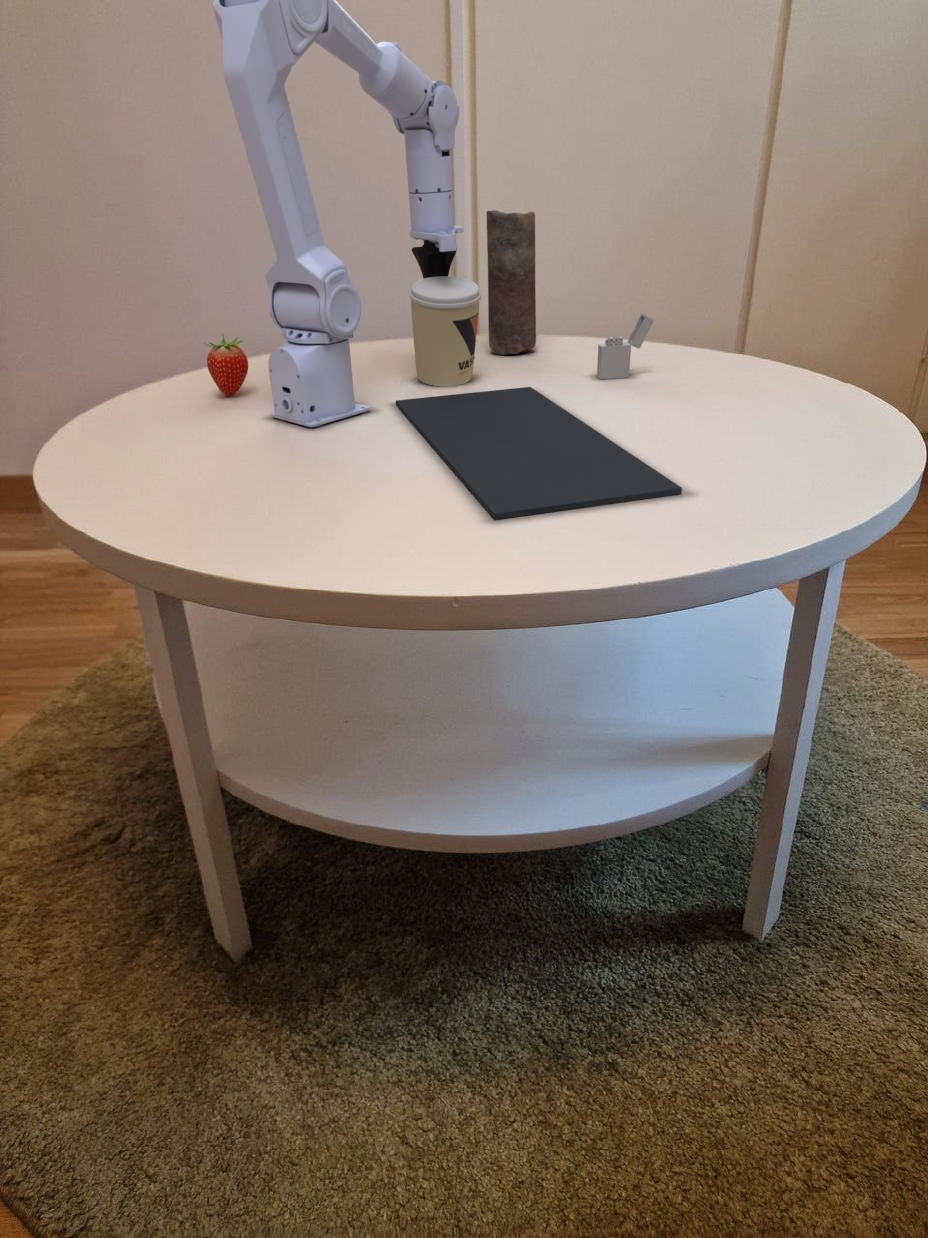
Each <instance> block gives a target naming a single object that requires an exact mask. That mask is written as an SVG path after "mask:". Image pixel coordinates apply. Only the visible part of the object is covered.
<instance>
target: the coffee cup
mask: <svg viewBox="0 0 928 1238" xmlns="http://www.w3.org/2000/svg"><path fill="white" fill-rule="evenodd" d="M408 293H409V298H410V309H411V322H412V335H413V336H412V338H413V350H414V361H415V371H416V378H418V380H419V381H420V382H422V383H423V384H427V385H430V386H435V387H441V388H442V387H447V388H448V387H456V386H462V385H464V384H466V383H468V382H470V380H471V379H472V377H473V371H474V362H475V354H476V345H477V344H476V343H477V333H478V324H479V314H480V313H479V312H480V301H481V299H482V292H481V290H480V287H479V285H478V284H477V282H474V281H472V280H470V279H467V278H462V277H458V276H450V275H448V276H437V277H429V278H424V279H423V278H420V279H419V280H416V281H415V282H413V283H412V285H411V288H410V289H409V292H408Z"/></svg>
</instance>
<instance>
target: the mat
mask: <svg viewBox="0 0 928 1238" xmlns="http://www.w3.org/2000/svg"><path fill="white" fill-rule="evenodd" d="M395 405H396V406H397V408H398V409H399V411H400V412H401V413H402V414H404V416H405V417H406V419H407V420H408V421H409V422H410V423H411V425H413V427H414V428H415V429H416V430H417V432H419V434H420V435H421V436H422V437H423V438H424V440H426V442H427V443H428V444H429V445H430V446H431V448H432V449H433V450H434V451H435V452H436V453H437V454H438V456H439V457H440V459H442V461H444V463H445V464H446V465H447V466H448V467H449V469H450V470H451V471H452V472H453V473H454V475H455V476H456V477H457V479H459V480H460V481H461V483H462V484H463V485H464V486H465V487H466V489H467V490H468V491H469V492H470V493H471V494H472V495H473V496H474V498H475V499H476V500H477V502H478V503H479V504H480V505H481V506H482V507H483V508H484V510H485V511H486V512H487V513H488V514H489V515H490V516H491V517H492V519H493V520H494V521H496V520H504V519H510V518H518V517H524V516H525V517H526V516H532V515H533V516H534V515H540V514H546V513H553V512H561V511H567V510H574V509H582V508H583V509H584V508H588V507H589V508H590V507H597V506H605V505H610V504H617V503H626V502H631V501H640V500H646V499H647V500H648V499H654V498H661V497H668V496H675V495H681V494H682V493H683V488H682V486H680V485H678V484H677V483H675V482H674V481H672V480H671V479H669V478H668V477H667V476H665V475H663V474H662V473H661V472H659V471H657V470H656V469H654V468H653V467H652V466H650V465H648V464H647V463H646V462H644V461H642V460H641V459H639V458H638V457H636V456H635V455H633V454H632V453H630V452H629V451H627V450H626V449H625V448H623V447H621V446H620V445H619V444H617V443H615V442H614V441H612V440H611V439H610V438H608V437H606V436H605V435H603V434H602V433H600V432H599V431H598V430H596V429H594V428H593V427H592V426H590V425H589V424H587V423H586V422H584V421H582V420H581V419H580V418H578V417H577V416H575V415H573V414H572V413H571V412H569V411H567V410H566V409H564V408H563V407H562V406H560V405H558V404H557V403H555V402H554V401H553V400H551V399H549V398H548V397H546V396H545V395H544V394H542V393H541V392H539V391H538V390H536V389H534V388H533V387H532V386H525V387H523V386H522V387H516V388H515V387H513V388H504V389H494V390H485V391H484V390H483V391H475V392H474V391H473V392H466V393H457V394H456V393H455V394H445V395H437V396H436V395H435V396H427V397H415V398H406V399H397V400H395Z"/></svg>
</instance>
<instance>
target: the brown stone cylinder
mask: <svg viewBox="0 0 928 1238" xmlns="http://www.w3.org/2000/svg"><path fill="white" fill-rule="evenodd" d="M486 247H487V251H486V252H487V298H488V299H487V308H488V309H487V311H488V313H487V315H488V320H487V321H488V347H489V348H490V350H492V352H493V353H494V354H495V355H498V356H506V355H507V356H508V355H512V354H513V355H517V354H519V353H521V352H528V351H531V350H533V349H534V348H535V347H536V345H537V309H536V307H537V304H536V303H537V302H536V301H537V300H536V214H535V211H529V212H526V213H520V212H510V213H507V212H503V211H499V210H486Z"/></svg>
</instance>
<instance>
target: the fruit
mask: <svg viewBox="0 0 928 1238" xmlns="http://www.w3.org/2000/svg"><path fill="white" fill-rule="evenodd" d="M238 338H239V336H237V337H236V338H235V339H233V340H232V341H230V342H226V340H225V336H224V333H222V340H221V341H220V343H219V344H214V343H212V342H209V344H208V343H206V342H204V345H205V346H207V347H209V348H211V349H210V350H209V352H208V354H207V357H206V366H207V370H208V372H209V375H210V377H211V378H212V380H213V382H214V383H215V385H216V387H217V388H218V390H219V391H220V393H222V394H223V395H225V396H226V397H232V396H234V395H236V394H237V393H238V392H239V391H240V389H241V388H242V386H243V385H244V382H245V380H246V378H247V375H248V371H249V360H248V357H247V355H246V353H245V352H244V351H243V349H242V348H241V347H240V346H238V345H239V344H240V343H243V341H244V340H239V341H238Z"/></svg>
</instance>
